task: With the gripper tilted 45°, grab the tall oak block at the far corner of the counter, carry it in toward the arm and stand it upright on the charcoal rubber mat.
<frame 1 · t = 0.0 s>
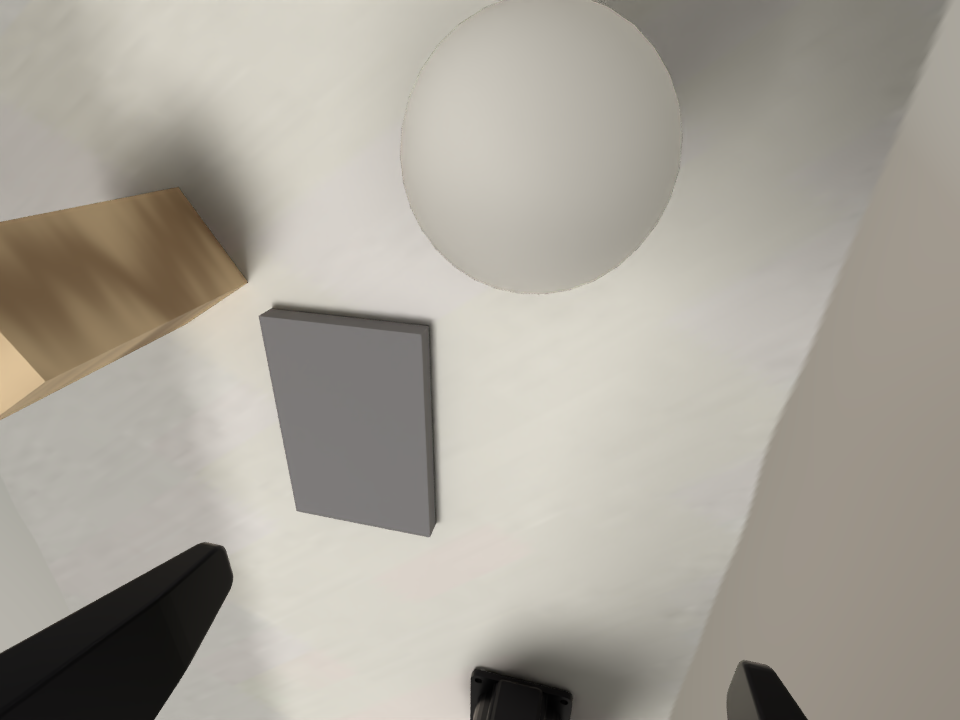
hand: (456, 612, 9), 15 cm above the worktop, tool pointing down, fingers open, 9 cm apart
oak block: (182, 260, 25), on the worktop
lightbulb: (567, 136, 19), on the worktop
charcoal mat: (359, 424, 27), on the worktop
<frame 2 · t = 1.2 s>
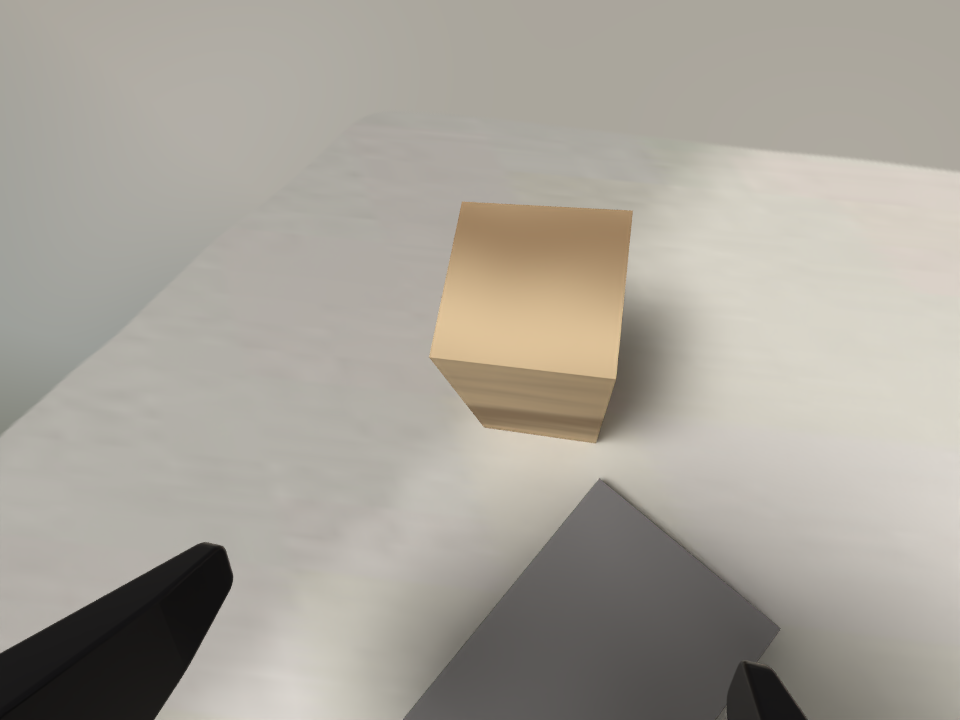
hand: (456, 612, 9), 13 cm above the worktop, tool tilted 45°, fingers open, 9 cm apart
oak block: (546, 381, 24), on the worktop
charcoal mat: (584, 670, 20), on the worktop
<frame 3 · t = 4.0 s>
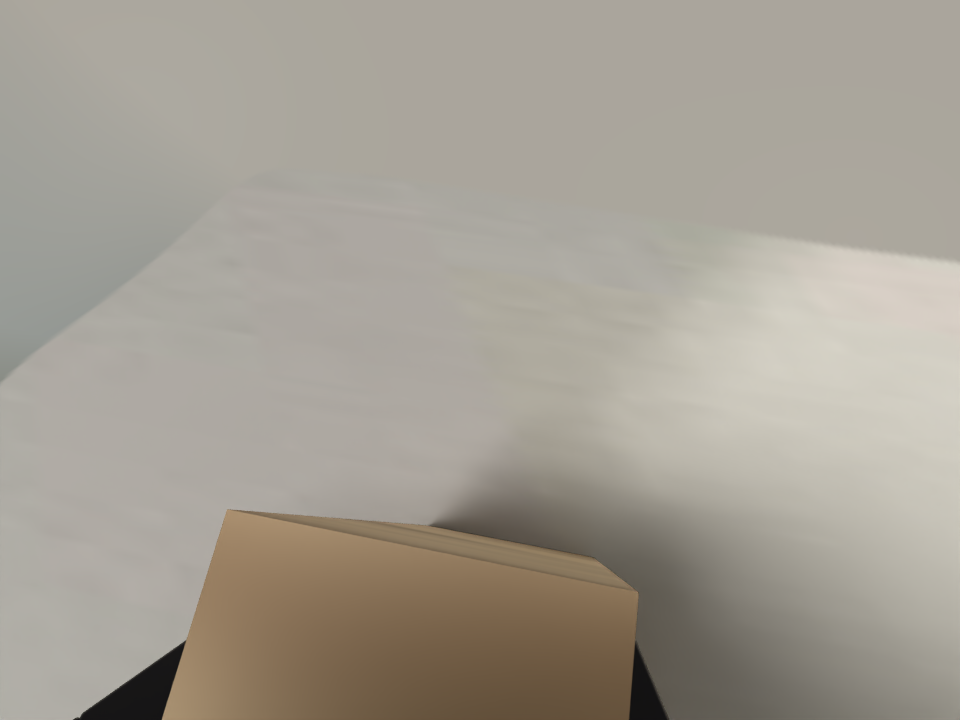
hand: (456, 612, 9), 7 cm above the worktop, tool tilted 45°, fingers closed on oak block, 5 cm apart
oak block: (493, 633, 15), on the worktop, touching gripper
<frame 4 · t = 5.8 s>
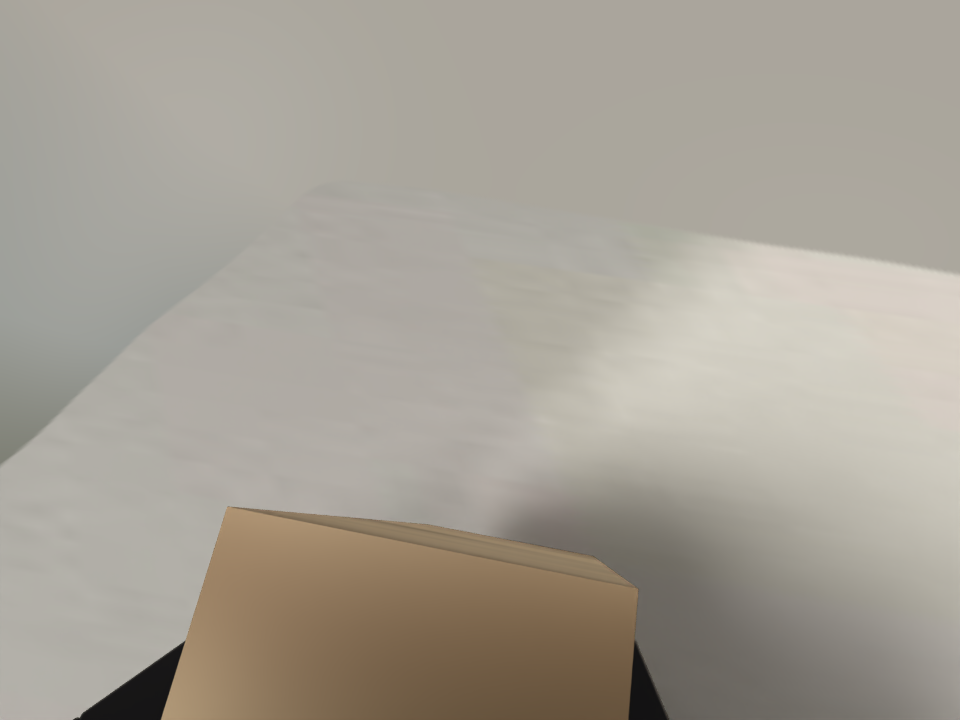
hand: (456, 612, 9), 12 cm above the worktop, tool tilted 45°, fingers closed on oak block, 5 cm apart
oak block: (493, 631, 15), point 5 cm above the worktop, touching gripper
when the fingers open (9 cm above the worktop, at t = 7.6 s): oak block drops 1 cm, resting on charcoal mat.
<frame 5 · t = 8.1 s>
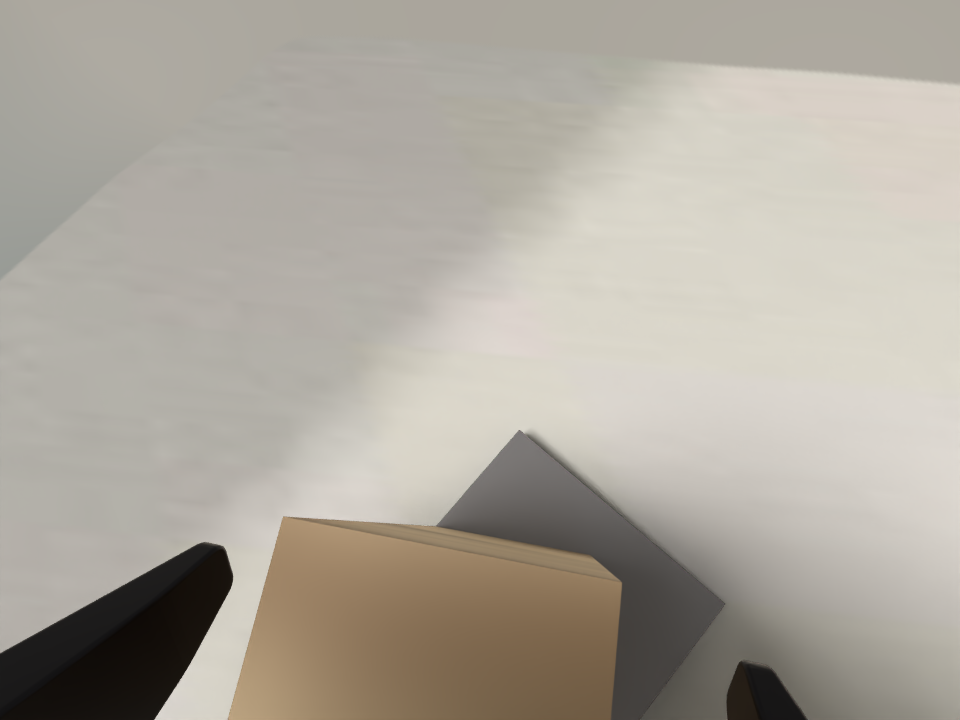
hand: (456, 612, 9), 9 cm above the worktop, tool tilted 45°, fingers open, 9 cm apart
oak block: (499, 624, 16), point 1 cm above the worktop, touching charcoal mat
charcoal mat: (494, 656, 17), on the worktop
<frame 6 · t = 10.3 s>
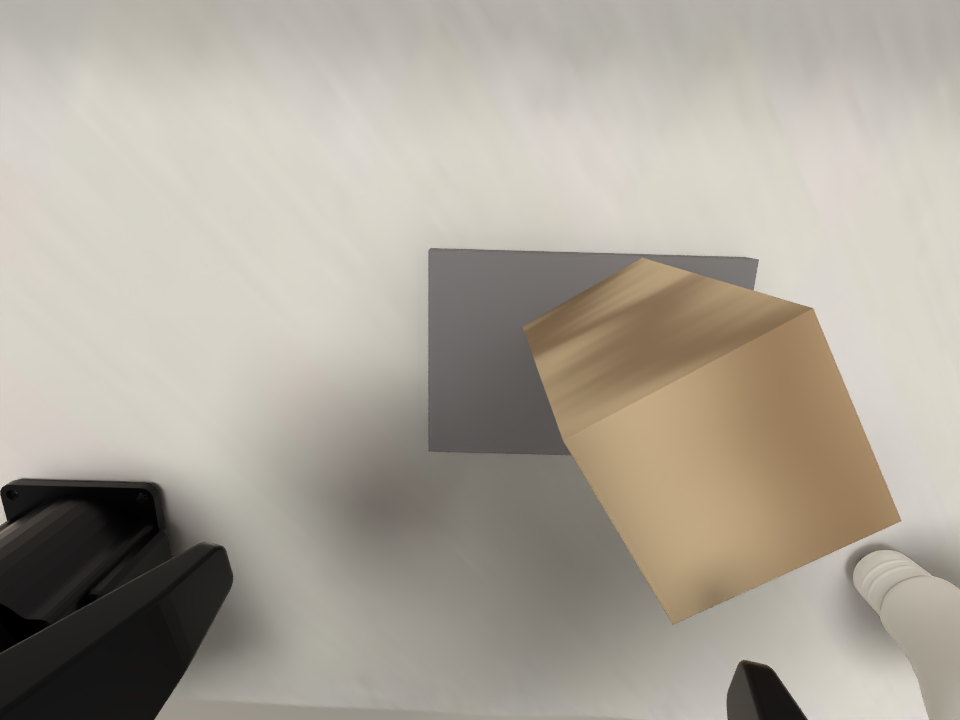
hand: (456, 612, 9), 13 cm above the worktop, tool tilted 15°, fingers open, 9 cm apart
oak block: (611, 348, 20), point 1 cm above the worktop, touching charcoal mat
lightbulb: (865, 559, 24), on the worktop
charcoal mat: (579, 353, 21), on the worktop
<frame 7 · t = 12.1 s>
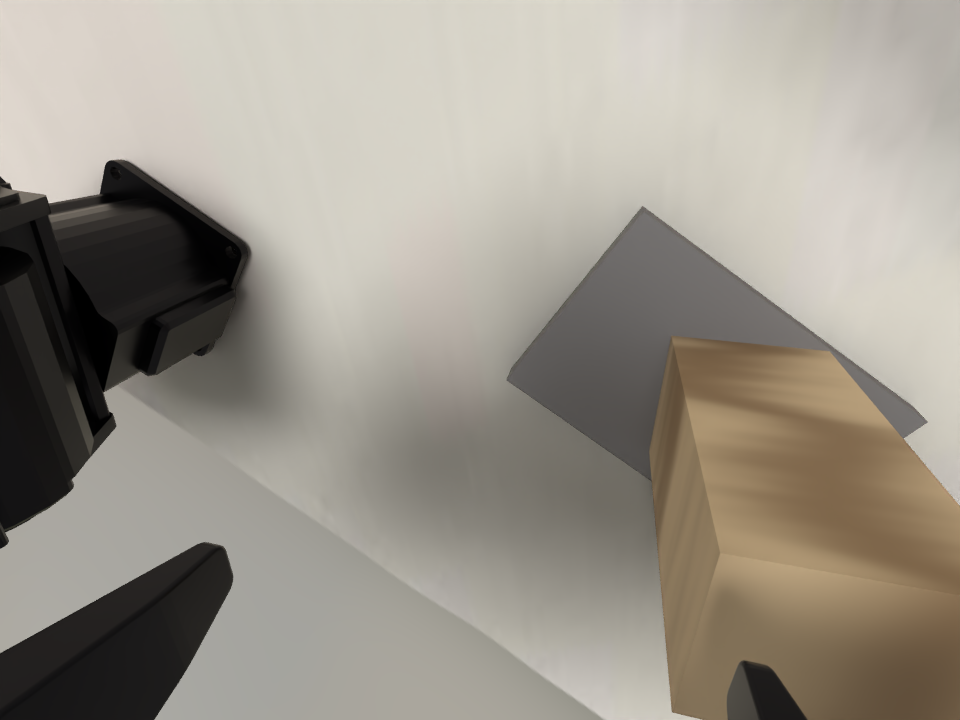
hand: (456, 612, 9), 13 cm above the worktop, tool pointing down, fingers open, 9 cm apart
oak block: (731, 405, 19), point 1 cm above the worktop, touching charcoal mat
charcoal mat: (696, 386, 20), on the worktop
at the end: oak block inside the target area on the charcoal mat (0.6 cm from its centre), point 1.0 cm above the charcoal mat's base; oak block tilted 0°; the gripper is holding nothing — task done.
